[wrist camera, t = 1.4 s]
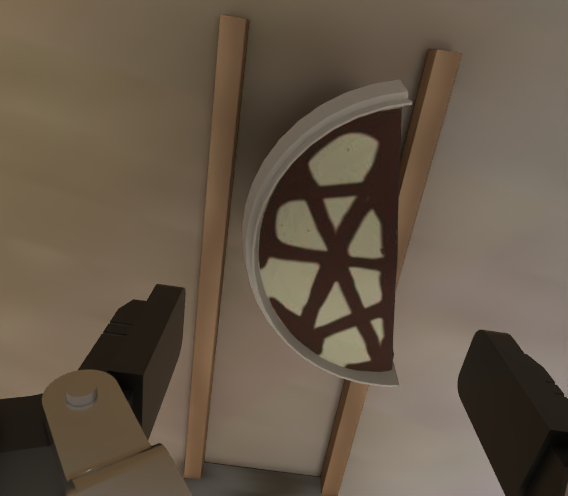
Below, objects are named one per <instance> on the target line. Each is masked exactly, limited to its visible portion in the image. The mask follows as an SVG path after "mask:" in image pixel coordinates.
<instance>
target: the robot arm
mask: <svg viewBox="0 0 568 496" xmlns="http://www.w3.org/2000/svg"><path fill="white" fill-rule="evenodd" d="M184 309H185V288H183V287H176V286H169V285H161V284H157V285H156V286H155V287H154V289H153V291H152V293H151V294H150V296H149V298H148V299H147V301H141V300H134V299H133V300H132V301H130V302H129V303H127V304H125V305H124V306H122V307H121V308H119V309H118V310H117V312H116V313H115V315H114V316H113V318H112V319H111V321H110V324H108V325H107V327H106V328H105V330H104V332H103V334H101V336H100V338H99V339H98V341H97V342H96V344H95V345H94V347H93V348H92V350H91V351H90V353H89V354H88V356H87V357H86V359H85V360H84V362H83V363H82V365H81V366H80V368H79V369H78V371H73V372H70V373H67V374H65V375H63V376H60V377H59V378H57V379H55V380H54V381H53V382H52V383H50V384H49V386H48V387H47V388H46V389H45V391H44V393H43V394H39V395H34V396H26V397H17V398H8V399H0V496H193V495H192V494H191V492H190V490H189V488H188V486H187V485H186V483H185V481H184V479H183V477H182V476H181V474H180V472H179V470H178V468H177V467H176V465H175V463H174V461H173V459H172V458H171V456H170V454H169V452H168V451H167V449H166V448H165V447H164V446H163V445H162V444H161V443H158V444H156V445H153V446H151V445H150V443H149V442H148V439H149V437H150V434H151V431H152V428H153V426H154V423H155V420H156V418H157V415H158V412H159V409H160V407H161V404H162V401H163V399H164V396H165V393H166V391H167V388H168V385H169V382H170V380H171V377H172V374H173V372H174V369H175V366H176V363H177V361H178V358H179V354H180V350H181V345H182V338H183V324H184ZM458 393H459V397H460V399H461V401H462V404H463V406H464V408H465V410H466V412H467V414H468V416H469V419H470V421H471V423H472V425H473V427H474V429H475V431H476V434H477V436H478V438H479V440H480V442H481V444H482V446H483V449H484V451H485V453H486V455H487V457H488V459H489V461H490V464H491V466H492V468H493V470H494V472H495V474H496V476H497V479H498V481H499V483H500V485H501V487H502V489H503V491H504V494H505V496H568V399H567V397H564V393H563V392H562V391H561V389H560V388H559V387H558V386H557V385H555V382H554V380H553V379H552V378H551V376H550V375H549V374H548V373H547V371H546V370H545V369H544V368H543V367H542V366H541V365H540V364H538V363H537V362H536V361H535V360H533V359H532V358H531V357H530V356H528V355H527V354H524V352H523V351H522V350H521V348H520V347H519V346H518V344H517V343H516V342H515V340H514V339H513V338H512V336H511V335H510V334H508V333H501V332H494V331H487V330H478V331H477V332H476V333H475V335H474V337H473V340H472V342H471V345H470V347H469V350H468V352H467V355H466V358H465V360H464V363H463V365H462V368H461V371H460V373H459V377H458Z"/></svg>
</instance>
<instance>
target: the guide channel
mask: <svg viewBox="0 0 568 496" xmlns="http://www.w3.org/2000/svg"><path fill="white" fill-rule="evenodd" d="M248 29H249V20H248V19H245V18H239V17H233V16H227V15H221V14H220V25H219V38H218V50H217V63H216V76H215V89H214V101H213V114H212V127H211V140H210V152H209V165H208V178H207V190H206V203H205V216H204V229H203V241H202V254H201V267H200V280H199V292H198V305H197V318H196V330H195V343H194V356H193V369H192V381H191V394H190V407H189V419H188V432H187V445H186V458H185V470H184V481H185V483H186V485H187V486H188V488H189V490H190V492H191V494H192V495H193V496H338V493H339V489H340V486H341V482H342V479H343V475H344V472H345V468H346V465H347V461H348V457H349V454H350V450H351V447H352V443H353V440H354V436H355V433H356V429H357V426H358V422H359V418H360V415H361V411H362V408H363V404H364V401H365V397H366V394H367V390H368V387H369V385H368V384H361V383H357V382H353V381H350V380H346V379H345V382H344V386H343V390H342V394H341V398H340V402H339V406H338V410H337V414H336V418H335V422H334V426H333V430H332V434H331V438H330V442H329V446H328V450H327V454H326V457H325V461H324V465H323V469H322V473H321V477H314V476H307V475H299V474H291V473H283V472H276V471H268V470H260V469H252V468H244V467H237V466H229V465H221V464H213V463H206V462H204V459H205V449H206V439H207V430H208V420H209V410H210V400H211V390H212V381H213V371H214V361H215V351H216V342H217V332H218V322H219V312H220V303H221V293H222V283H223V273H224V264H225V254H226V244H227V234H228V225H229V215H230V205H231V195H232V185H233V176H234V166H235V156H236V146H237V137H238V127H239V117H240V107H241V98H242V88H243V78H244V68H245V59H246V49H247V39H248ZM461 57H462V53H456V52H450V51H444V50H438V49H429V51H428V55H427V59H426V63H425V67H424V71H423V74H422V78H421V82H420V86H419V90H418V94H417V98H416V102H415V106H414V110H413V114H412V118H411V122H410V126H409V130H408V134H407V138H406V142H405V146H404V149H403V153H402V157H401V161H400V173H399V204H398V261H397V275H396V287H397V284H398V280H399V277H400V273H401V269H402V266H403V262H404V259H405V255H406V252H407V248H408V245H409V241H410V238H411V234H412V230H413V227H414V223H415V220H416V216H417V213H418V209H419V206H420V202H421V199H422V195H423V191H424V188H425V184H426V181H427V177H428V174H429V170H430V167H431V163H432V160H433V156H434V152H435V149H436V145H437V142H438V138H439V135H440V131H441V128H442V124H443V121H444V117H445V113H446V110H447V106H448V103H449V99H450V96H451V92H452V89H453V85H454V82H455V78H456V74H457V71H458V67H459V64H460V60H461ZM395 291H396V288H395Z"/></svg>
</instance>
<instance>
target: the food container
mask: <svg viewBox="0 0 568 496" xmlns="http://www.w3.org/2000/svg"><path fill="white" fill-rule="evenodd" d="M407 105H412V101H410V100H409V99H408V90H407V89H406V88H405V86H404V85H403V83H402V82H401V80H400V79H398V80H392V81H386V82H380V83H374V84H370V85H367V86H364V87H361V88H358V89H355V90H351V91H348V92H345V93H343V94H341V95H340V96H338V97H336V98H334V99H332V100H330V101H328V102H326V103H324V104H322V105H320V106H319V107H317V108H316V109H314V110H313V111H312V112H310V113H309V114H307V115H306V116H305V117H303V118H302V119H300V120H299V121H298V122H297V123H296V124H295V125H294V126H293V127H292V128H291V129H290V130H289V131H288V132H287V133H285V134H284V135H283V136H282V137H281V138H280V139H279V141H278V142H277V143H276V145H275V146H274V147H273V149H272V150H271V151H270V153H269V154H268V155H267V157H266V158H265V160H264V161H263V163H262V165H261V167H260V169H259V171H258V173H257V175H256V177H255V179H254V181H253V182H252V185H251V189H250V192H249V195H248V198H247V201H246V204H245V210H244V217H243V224H242V246H243V254H244V259H245V264H246V269H247V273H248V277H249V282H250V285H251V288H252V291H253V293H254V296H255V298H256V301H257V304H258V306H259V307H260V309H261V311H262V312H263V314H264V316H265V317H266V319H267V321H268V322H269V324H270V325H271V326H272V327H273V328H274V330H275V331H276V332H277V333H278V334H279V336H280V337H281V338H282V339H283V340H284V341H285V343H286V344H287V345H288V346H289V347H290V348H292V349H293V350H294V351H295V352H296V353H297V354H299V355H300V356H301V357H302V358H303V359H305V360H307V361H308V362H310V363H311V364H313V365H314V366H316V367H318V368H319V369H321V370H323V371H326V372H328V373H330V374H332V375H335V376H337V377H339V378H343V379H346V380H350V381H353V382H357V383H361V384H368V385H374V386H385V387H399V382H398V378H397V374H396V371H395V367H394V363H393V356H394V353H393V325H394V305H395V288H396V275H397V261H398V204H399V173H400V145H401V110H402V108H401V106H407Z"/></svg>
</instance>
